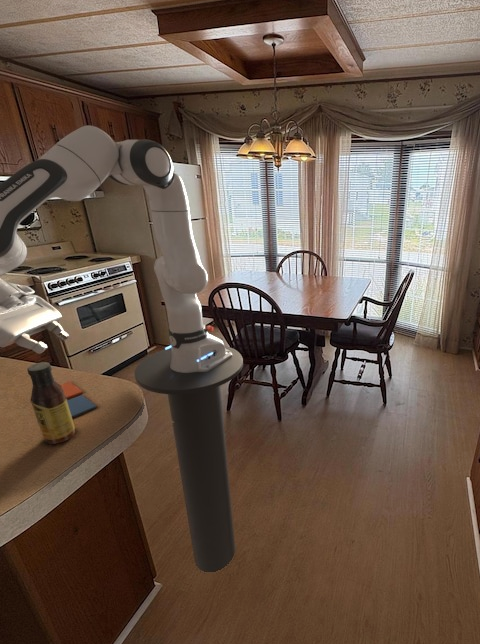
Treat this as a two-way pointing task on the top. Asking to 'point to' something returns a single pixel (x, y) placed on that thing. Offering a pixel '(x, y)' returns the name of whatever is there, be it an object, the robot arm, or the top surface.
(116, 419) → the top surface
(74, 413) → the blue pad
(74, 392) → the terracotta pad
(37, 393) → the sauce bottle
